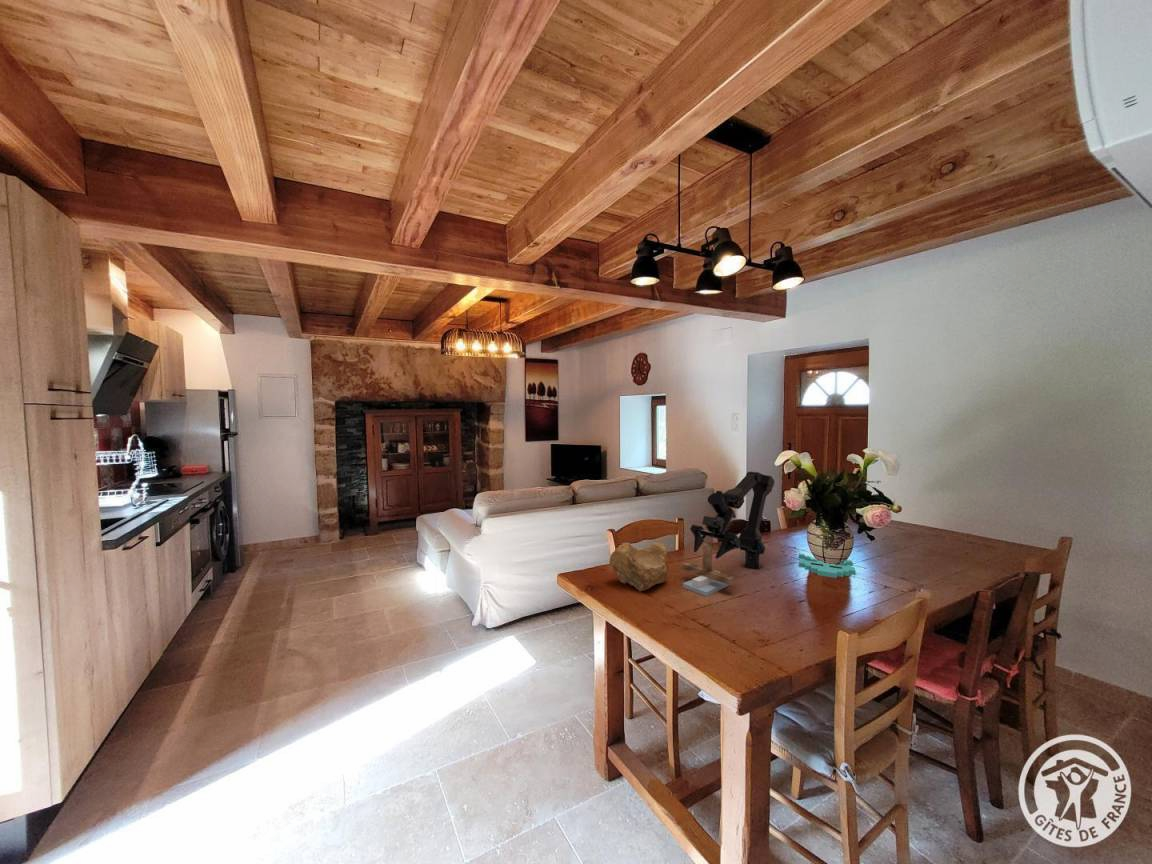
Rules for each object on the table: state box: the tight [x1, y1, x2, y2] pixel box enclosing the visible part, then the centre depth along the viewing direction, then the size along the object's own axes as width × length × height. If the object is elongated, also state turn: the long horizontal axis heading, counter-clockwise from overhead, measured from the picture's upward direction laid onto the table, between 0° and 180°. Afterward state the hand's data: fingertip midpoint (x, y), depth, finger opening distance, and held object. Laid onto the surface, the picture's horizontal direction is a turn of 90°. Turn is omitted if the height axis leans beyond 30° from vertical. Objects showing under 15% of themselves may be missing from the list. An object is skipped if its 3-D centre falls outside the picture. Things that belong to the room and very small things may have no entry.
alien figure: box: [798, 553, 856, 579], centre depth 178 cm, size 20×2×20 cm
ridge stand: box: [682, 569, 732, 597], centre depth 159 cm, size 16×10×4 cm, turn 130°
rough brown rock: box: [609, 542, 669, 592], centre depth 160 cm, size 23×17×15 cm
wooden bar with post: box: [681, 542, 735, 586], centre depth 159 cm, size 20×3×12 cm, turn 40°
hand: (705, 554), depth 158 cm, fingers open, 9 cm apart
